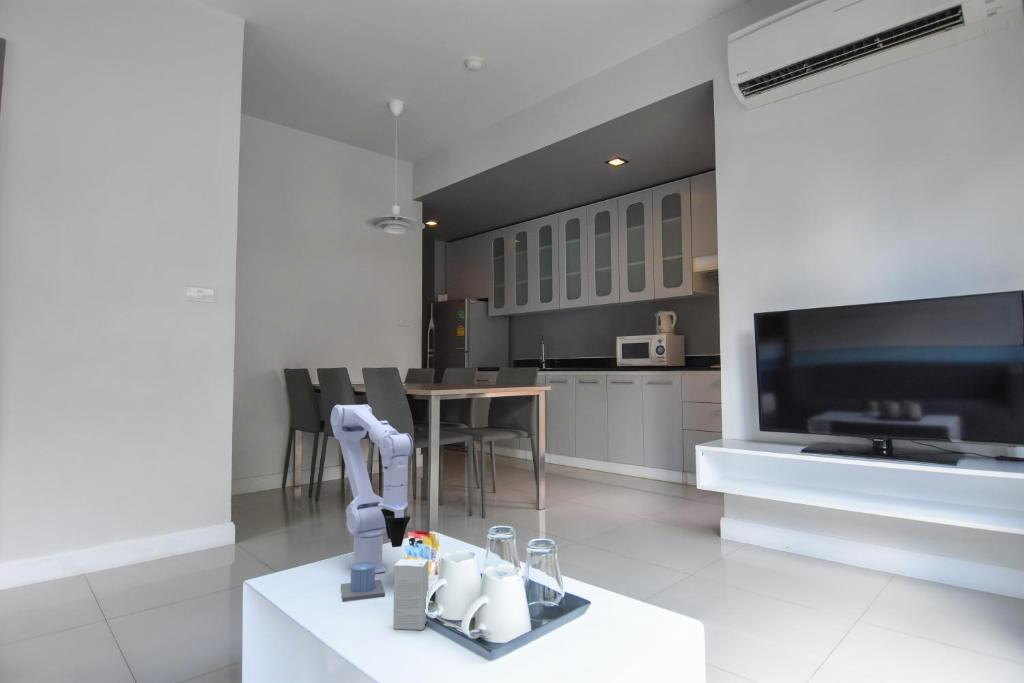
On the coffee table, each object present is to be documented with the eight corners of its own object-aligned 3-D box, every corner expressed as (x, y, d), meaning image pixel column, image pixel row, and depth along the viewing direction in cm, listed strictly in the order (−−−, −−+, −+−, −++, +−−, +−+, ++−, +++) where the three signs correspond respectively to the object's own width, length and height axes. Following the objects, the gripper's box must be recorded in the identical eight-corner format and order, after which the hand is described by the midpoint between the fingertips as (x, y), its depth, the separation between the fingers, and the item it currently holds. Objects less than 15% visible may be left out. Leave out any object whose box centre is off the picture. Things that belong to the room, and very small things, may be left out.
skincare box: (428, 621, 108) (429, 559, 109) (423, 630, 104) (424, 566, 105) (398, 620, 109) (400, 558, 110) (392, 629, 104) (393, 565, 105)
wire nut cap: (350, 585, 125) (350, 563, 126) (373, 583, 127) (373, 561, 128) (351, 593, 121) (352, 570, 121) (375, 590, 122) (375, 567, 123)
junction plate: (340, 587, 126) (341, 570, 127) (380, 582, 130) (380, 566, 130) (342, 601, 118) (343, 583, 118) (384, 596, 121) (385, 578, 121)
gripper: (375, 480, 137) (374, 536, 136) (382, 490, 124) (380, 552, 122) (403, 479, 139) (402, 533, 138) (413, 488, 126) (412, 549, 125)
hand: (394, 542), depth 130 cm, fingers open, 7 cm apart
